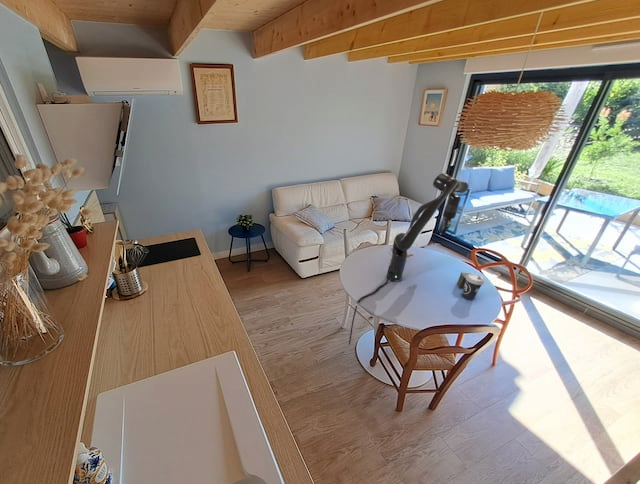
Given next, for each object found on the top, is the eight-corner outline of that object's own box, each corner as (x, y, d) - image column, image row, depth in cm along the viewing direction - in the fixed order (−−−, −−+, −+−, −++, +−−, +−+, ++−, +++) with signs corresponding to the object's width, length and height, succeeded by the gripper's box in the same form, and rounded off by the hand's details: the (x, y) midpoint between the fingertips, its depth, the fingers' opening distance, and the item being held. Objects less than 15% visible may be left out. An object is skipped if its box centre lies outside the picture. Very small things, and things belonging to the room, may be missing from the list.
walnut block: (457, 283, 194) (461, 272, 189) (466, 284, 192) (471, 273, 188) (459, 288, 189) (463, 277, 184) (469, 289, 187) (474, 278, 183)
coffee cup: (470, 303, 175) (478, 283, 168) (456, 294, 183) (463, 275, 175) (479, 298, 179) (488, 279, 172) (465, 290, 186) (472, 271, 179)
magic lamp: (412, 264, 215) (415, 252, 209) (387, 262, 218) (390, 249, 213) (410, 260, 221) (414, 247, 215) (386, 257, 224) (389, 245, 219)
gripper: (458, 214, 188) (450, 238, 196) (454, 208, 199) (447, 230, 208) (446, 212, 190) (438, 236, 198) (443, 206, 201) (435, 229, 210)
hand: (443, 233), depth 203 cm, fingers closed
